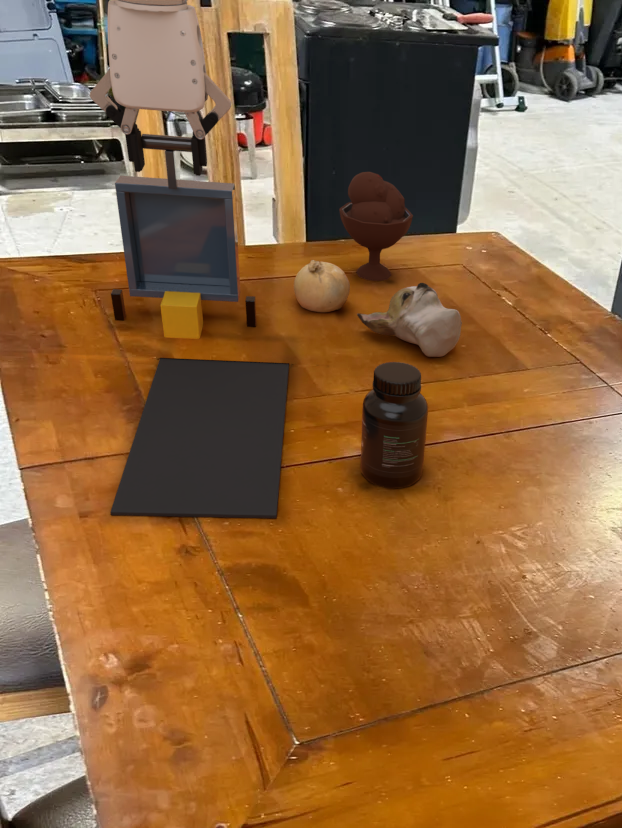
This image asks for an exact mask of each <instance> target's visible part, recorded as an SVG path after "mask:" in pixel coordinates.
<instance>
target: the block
mask: <svg viewBox="0 0 622 828" xmlns="http://www.w3.org/2000/svg"><path fill="white" fill-rule="evenodd" d="M161 299H162V300H161V302H160V304H159V307H160V313H161V322H162V330H163V338H168V339H169V338H171V339H191V340H200V339H201V335H202V331H203V328H204V317H203V306H202V305H203V304H202V300H201V293H191V292H173V291H165V294H164V296H163V298H161Z"/></svg>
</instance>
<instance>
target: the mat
mask: <svg viewBox="0 0 622 828" xmlns="http://www.w3.org/2000/svg"><path fill="white" fill-rule="evenodd" d="M289 371H290V362H272V361H271V362H269V361H246V360H225V359H224V360H220V359H201V358H200V359H199V358H175V357H159V360H158V364H157V366H156V370H155V372H154V376H153V379H152V382H151V385H150V388H149V391H148V394H147V397H146V400H145V404H144V406H143V409H142V413H141V416H140V420H139V422H138V425H137V428H136V431H135V434H134V438H133V440H132V444H131V447H130V450H129V453H128V456H127V459H126V462H125V465H124V469H123V471H122V475H121V478H120V481H119V484H118V487H117V490H116V493H115V497H114V499H113V503H112V506H111V509H110V512H109V513H110V516H130V517H135V516H136V517H179V518H180V517H183V518H186V517H187V518H230V519H231V518H233V519H234V518H236V519H277V517H278V507H279V505H278V504H279V496H280V495H279V494H280V481H281V469H282V456H283V444H284V443H283V442H284V434H285V433H284V432H285V420H286V419H285V418H286V409H287V408H286V407H287V396H288V383H289V382H288V381H289V373H290V372H289Z"/></svg>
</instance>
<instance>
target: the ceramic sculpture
mask: <svg viewBox="0 0 622 828" xmlns="http://www.w3.org/2000/svg"><path fill="white" fill-rule="evenodd" d="M356 316H357V318H358V319H359V320H360V321H361V323H362V324H363V325H364V326H366V327H367V328H368V329H369V330H370V331H372V332H373V333H375V334H378V335H382V336H390V337H391V336H392V337H393V336H394V337H396V338H398V339H400V340H401V341H404V342H406V343H409V344H413V345H417V346H419V348H420V351H421V352H422V353H423V354H424V355H425V356H426V357H428V358H442V357H445V356H446V355H447V354H448V353H449V352H451V351H452V350H453V349H454V348H455V347H456V345H457V344H458V342H459V340H460V337H461V331H462V325H463V322H462V316H461V313H460V312H459V310H457V309H454V308H447V307H445V306H444V305H443V304H442V301H441V300H440V298H439V296H438V293H437V291H436V290H435V289H434V288H433V287H431V286H429V285H428V284H427V283H426V282H420V283H418V284H417V285H414V286H413V285H412V286H407V287H403V288H401V289H398V290H397V291H396V292H395V293H394V294H393V295H392V296H391V298H390V301H389V306H388V310H387V311H386V312H382V311H377V312H376V311H375V312H372V313H369V314H366V313H356Z"/></svg>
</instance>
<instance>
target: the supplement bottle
mask: <svg viewBox="0 0 622 828" xmlns="http://www.w3.org/2000/svg"><path fill="white" fill-rule="evenodd" d="M421 392H422V373H421V371H420V370H419V368H417V367H416V366H414V365H412V364H409V363H406V362H402V361H401V362H400V361H398V362H397V361H388V362H383V363H381V364H379V365H376V367H375V368H374V370H373V380H372V388H371V390H369V391H368V392H367V394H366V395H365V396H364V397H363V400H362V407H361V411H362V412H361V435H360V436H361V439H360V442H361V444H360V472H361V473H362V476H363V477H364V478H365V479H366V480H367V481H369V482H370V483H371V484H373V485H375V486H378V487H381V488H385V489H402V488H407V487H409V486H412V485H414V484H415V483H417V482H418V481H419V480H420V478H421V477H422V475H423V471H424V461H425V451H426V439H427V438H426V437H427V427H428V418H429V403H428V401H427V400H426V397H425V396H424V395H423V394H422V393H421Z"/></svg>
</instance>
